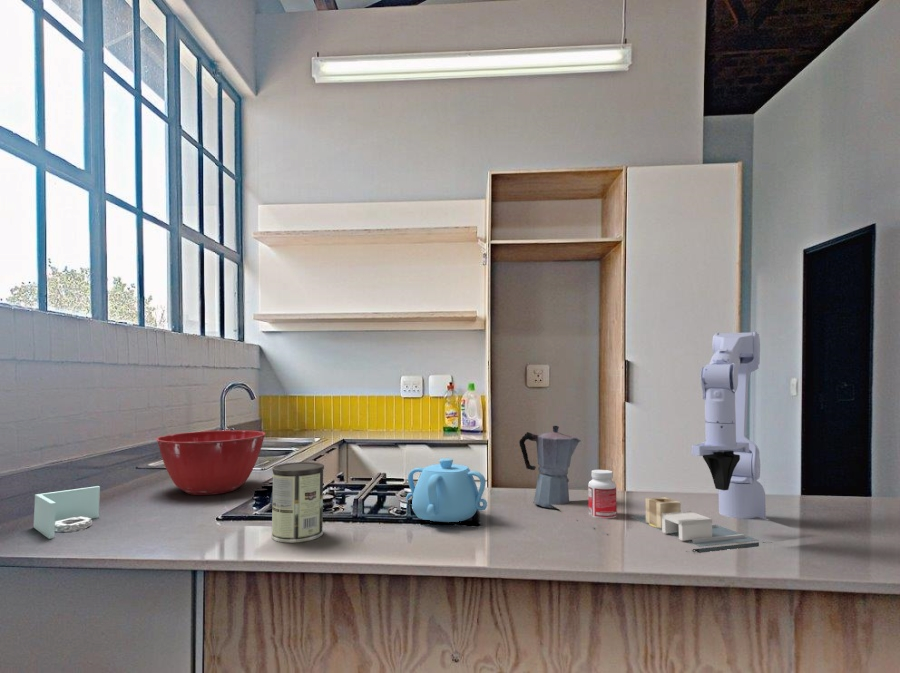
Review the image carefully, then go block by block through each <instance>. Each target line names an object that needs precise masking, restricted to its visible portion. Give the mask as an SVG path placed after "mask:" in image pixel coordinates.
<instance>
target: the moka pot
mask: <svg viewBox="0 0 900 673" xmlns="http://www.w3.org/2000/svg"><path fill="white" fill-rule="evenodd" d="M559 429H560V426H558V425H553V426H552V432H550V431H549V432H544V433H531V432H528V431H527V432H525V434H524V435H523V436H522V437H521V439H519V447H520V450H521V453H522V454H521V455H522V457H523V460H524V463H525V464H524V465H525V468H526V469H527V470H532V471H535V470H536V468H537V467H536V466H535V465H531V463H530V461H529V457H528V456H529V455H528V452H527V449H526V448H527V447H526V444H525V442H526V441H527V440H529V441H532V442H536V452H537V454H536V455H537V456H536V457H537V464H538V465H539V466H538V468H537V469H538V472H539V473H538V477H537V481H536V486H535V492H534V498H533V503H534V504H535V505H537V506H538V507H539V506H540V507H543V508H548V509H558V507H555V506H554V505H564V504H569V502H570V492H569V481H570V479H569V477H568V473H569V468H570V467H571V461H572V457H573V455H574V453H575V450H576V448H577V446H578V444H579V443H580V442H581V439H580V438H578V437H576V436H571V435H567V434H564V433H562V432H559Z"/></svg>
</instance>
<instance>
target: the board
mask: <svg viewBox="0 0 900 673" xmlns="http://www.w3.org/2000/svg"><path fill="white" fill-rule="evenodd" d="M630 518H631V519H634V520H637V521H638V522H640V523H643V524H645V525H647V526H650V527H652V528H655V529H657V530H659V531H662V528H659V527H657V526H654V525H652V524H649V523H647V522H646V514H644V515H634V516H632V515H631V516H630ZM668 534H669V535H671V536H674V537H675V538H678V539H679V532H673V533H668ZM684 541H686V543H687V542H688V543H689V544H692V545H695V546H697V547H701V548H693V550H692V551H694V550H695V551H694V552H696V551H697V553H699V554H700V553H701V554H702V553H710V551H712V552H718V551H719V550H721V551H728V550H727V549H730V550H737V548H738V549H747V548H755V547H760V542H755V541H758V539H757V538H754V537H751V536H748V535H747V534H746V535H745V534H744V533H740V532H737V531H734V530H732V529H729V528H727V527H724V526H721V525H718V524H715V523H713V522H712V537H707V538H697V539H692V540H684ZM747 542H748V543H747ZM736 543H739V544H736ZM726 544H727V545H726ZM728 544H731V545H728ZM716 545H721V546H716ZM709 546H711V547H709ZM719 552H720V551H719Z"/></svg>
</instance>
